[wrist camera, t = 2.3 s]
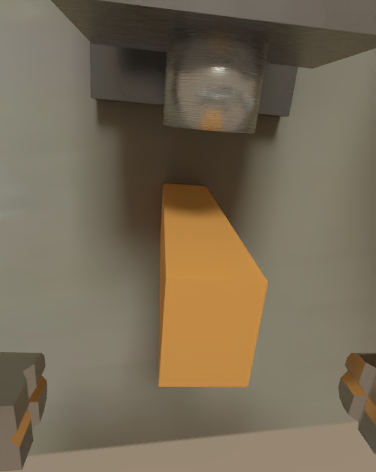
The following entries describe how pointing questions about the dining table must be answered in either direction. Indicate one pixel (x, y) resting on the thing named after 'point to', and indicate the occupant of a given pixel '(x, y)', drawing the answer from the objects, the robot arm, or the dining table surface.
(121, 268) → the dining table surface
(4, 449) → the robot arm
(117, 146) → the dining table surface
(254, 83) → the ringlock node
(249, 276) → the orange rectangular bar
